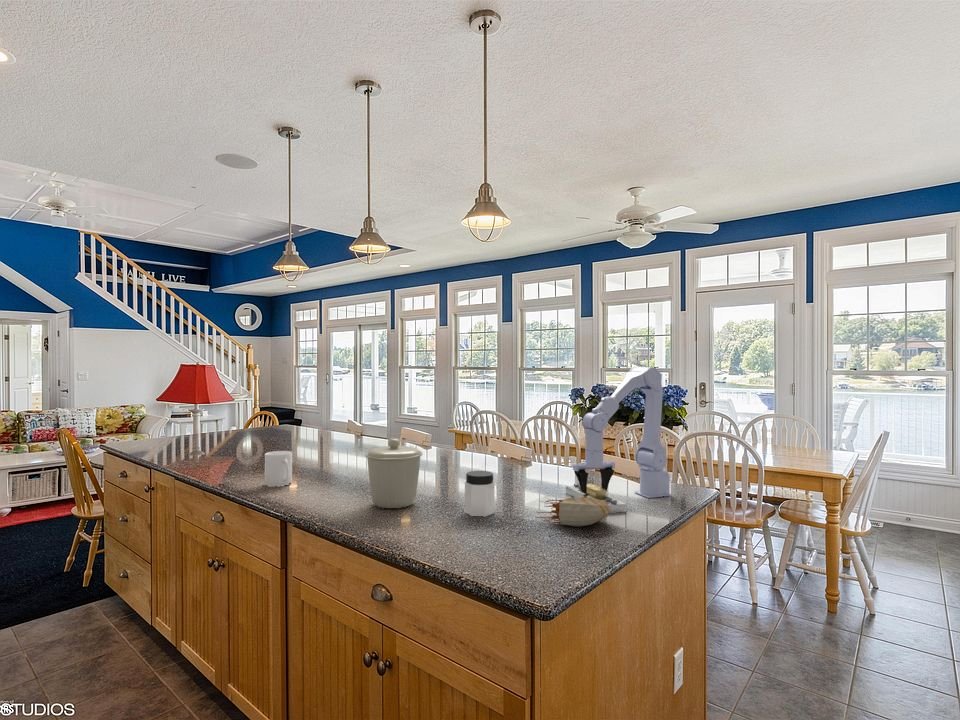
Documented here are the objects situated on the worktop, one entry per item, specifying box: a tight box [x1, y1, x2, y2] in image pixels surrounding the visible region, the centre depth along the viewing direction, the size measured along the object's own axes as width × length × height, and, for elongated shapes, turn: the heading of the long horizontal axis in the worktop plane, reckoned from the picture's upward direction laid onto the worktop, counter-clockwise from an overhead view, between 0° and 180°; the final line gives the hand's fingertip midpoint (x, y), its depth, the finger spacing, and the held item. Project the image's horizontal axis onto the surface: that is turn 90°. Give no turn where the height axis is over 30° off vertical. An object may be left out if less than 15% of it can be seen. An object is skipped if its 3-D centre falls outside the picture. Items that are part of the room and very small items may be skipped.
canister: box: [364, 438, 424, 509], centre depth 168 cm, size 18×18×21 cm
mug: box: [264, 450, 293, 486], centre depth 194 cm, size 10×12×12 cm
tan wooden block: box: [585, 483, 607, 500], centre depth 172 cm, size 4×9×5 cm, turn 18°
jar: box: [464, 470, 495, 518], centre depth 159 cm, size 9×8×12 cm
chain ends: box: [565, 483, 627, 514], centre depth 172 cm, size 7×26×3 cm, turn 19°
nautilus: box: [536, 497, 611, 528], centre depth 149 cm, size 8×22×15 cm
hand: (594, 491), depth 172 cm, fingers open, 7 cm apart
